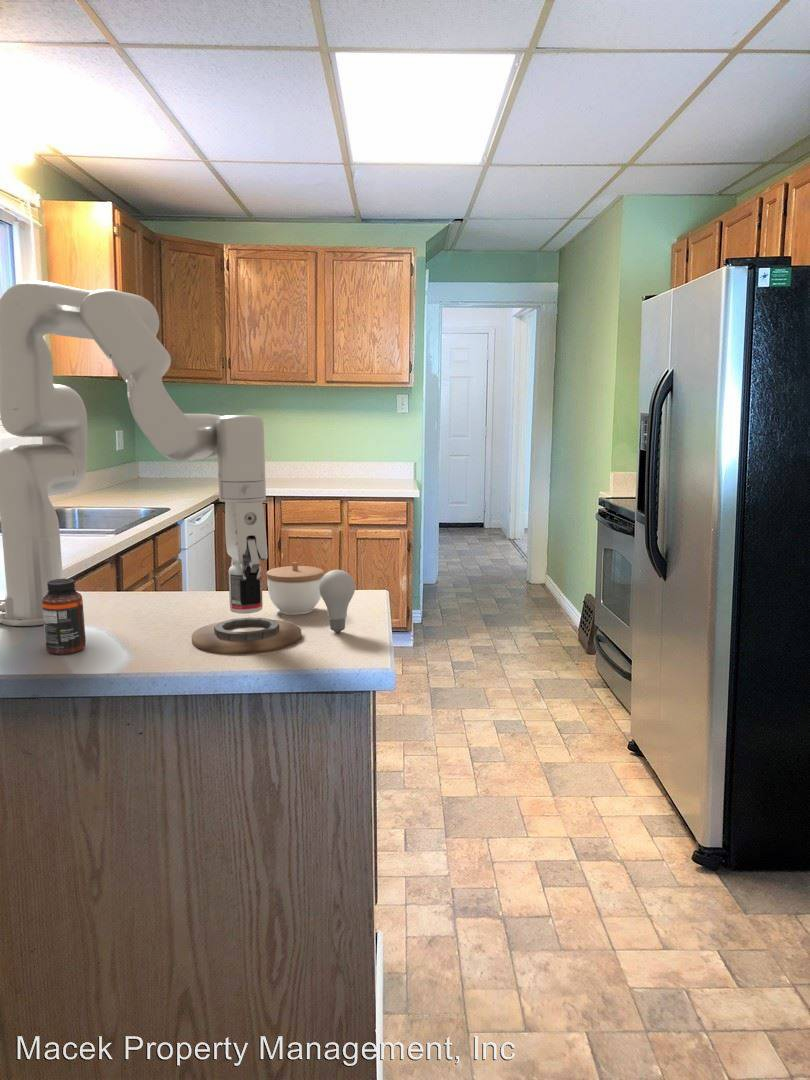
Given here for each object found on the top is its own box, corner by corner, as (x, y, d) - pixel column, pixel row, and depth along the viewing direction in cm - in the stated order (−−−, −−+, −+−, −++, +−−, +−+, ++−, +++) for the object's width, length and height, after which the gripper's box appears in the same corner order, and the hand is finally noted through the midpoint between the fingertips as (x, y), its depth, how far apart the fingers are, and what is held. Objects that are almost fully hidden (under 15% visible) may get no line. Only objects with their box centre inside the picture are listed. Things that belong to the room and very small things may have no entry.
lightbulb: (323, 638, 138) (322, 574, 137) (316, 629, 144) (315, 567, 143) (359, 635, 140) (358, 572, 138) (351, 626, 146) (350, 565, 144)
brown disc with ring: (203, 659, 127) (202, 645, 127) (183, 631, 143) (182, 618, 143) (315, 645, 134) (315, 632, 134) (284, 620, 151) (284, 608, 150)
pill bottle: (268, 611, 137) (266, 553, 136) (237, 616, 134) (235, 556, 133) (254, 605, 142) (253, 549, 140) (225, 609, 139) (222, 552, 137)
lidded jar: (335, 610, 158) (335, 562, 156) (291, 621, 150) (290, 570, 149) (300, 601, 165) (299, 555, 164) (256, 611, 157) (254, 562, 156)
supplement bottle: (74, 642, 136) (69, 575, 134) (93, 649, 132) (89, 580, 131) (38, 651, 132) (33, 581, 130) (57, 658, 128) (52, 586, 126)
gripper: (279, 495, 129) (282, 608, 132) (252, 486, 144) (255, 588, 147) (231, 497, 126) (235, 613, 129) (208, 488, 141) (213, 591, 144)
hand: (246, 598), depth 138 cm, fingers closed on pill bottle, 5 cm apart
